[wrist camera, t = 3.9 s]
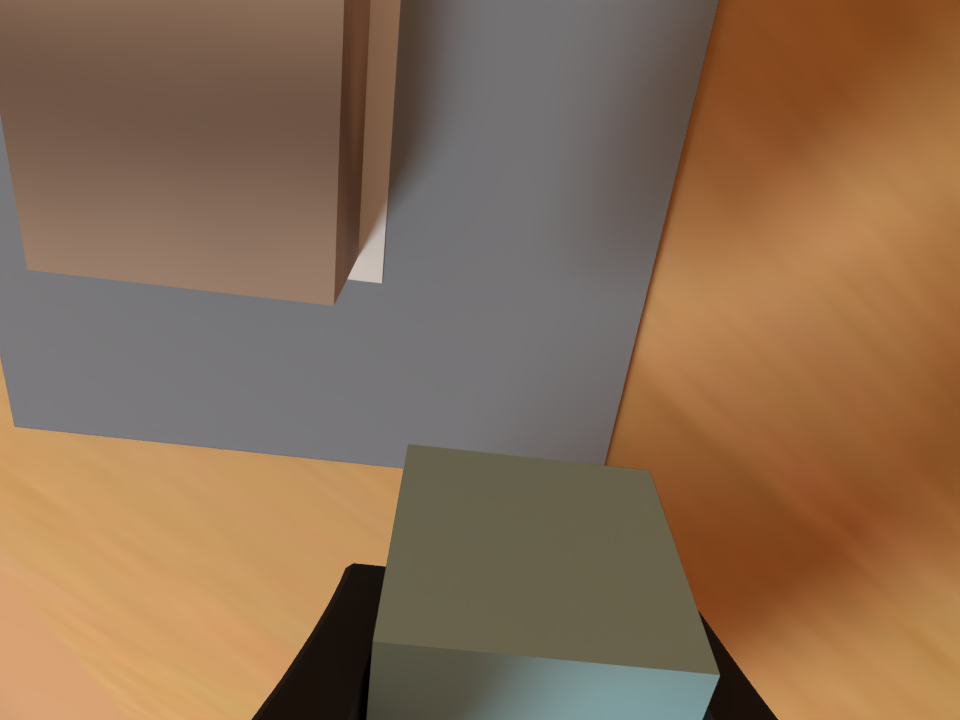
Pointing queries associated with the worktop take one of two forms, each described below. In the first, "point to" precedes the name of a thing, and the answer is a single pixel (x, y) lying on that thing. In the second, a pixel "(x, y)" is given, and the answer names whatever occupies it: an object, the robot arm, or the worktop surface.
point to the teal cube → (534, 596)
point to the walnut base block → (188, 140)
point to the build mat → (413, 258)
